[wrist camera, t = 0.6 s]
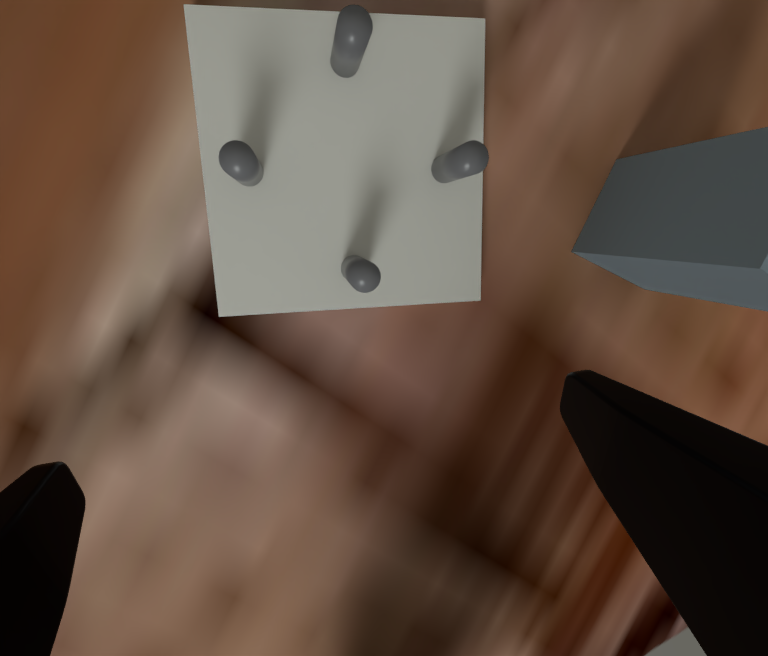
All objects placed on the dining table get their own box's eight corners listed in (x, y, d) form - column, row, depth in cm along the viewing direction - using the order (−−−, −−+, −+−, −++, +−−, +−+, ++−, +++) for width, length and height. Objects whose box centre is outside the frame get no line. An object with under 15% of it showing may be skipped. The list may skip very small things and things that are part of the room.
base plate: (471, 296, 23) (513, 313, 18) (223, 311, 21) (202, 335, 16) (474, 30, 20) (524, -26, 16) (190, 18, 18) (155, -51, 14)
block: (644, 289, 25) (864, 328, 15) (571, 251, 23) (759, 268, 14) (689, 202, 24) (949, 186, 14) (616, 159, 23) (847, 109, 13)
